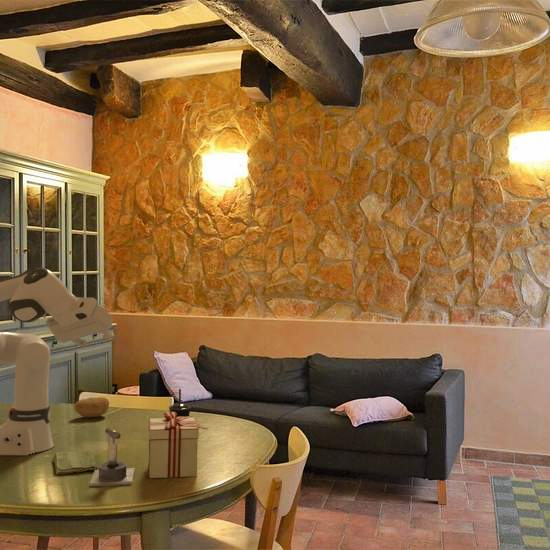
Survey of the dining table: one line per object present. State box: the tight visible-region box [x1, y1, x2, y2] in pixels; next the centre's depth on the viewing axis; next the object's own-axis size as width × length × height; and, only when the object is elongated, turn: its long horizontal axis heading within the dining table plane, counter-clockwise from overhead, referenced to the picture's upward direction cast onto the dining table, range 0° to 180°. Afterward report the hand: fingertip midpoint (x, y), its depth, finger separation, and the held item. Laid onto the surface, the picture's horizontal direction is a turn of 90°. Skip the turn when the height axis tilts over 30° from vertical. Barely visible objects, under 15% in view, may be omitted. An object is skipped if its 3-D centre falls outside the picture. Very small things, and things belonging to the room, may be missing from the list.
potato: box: [73, 396, 110, 419], centre depth 271 cm, size 10×14×8 cm
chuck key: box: [104, 427, 121, 467], centre depth 197 cm, size 7×3×14 cm, turn 38°
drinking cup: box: [168, 388, 192, 417], centre depth 231 cm, size 8×8×20 cm
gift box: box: [147, 411, 209, 479], centre depth 205 cm, size 17×18×17 cm
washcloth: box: [52, 449, 99, 475], centre depth 209 cm, size 13×18×3 cm
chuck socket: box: [89, 460, 136, 487], centre depth 197 cm, size 12×12×4 cm
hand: (97, 342), depth 202 cm, fingers open, 8 cm apart
